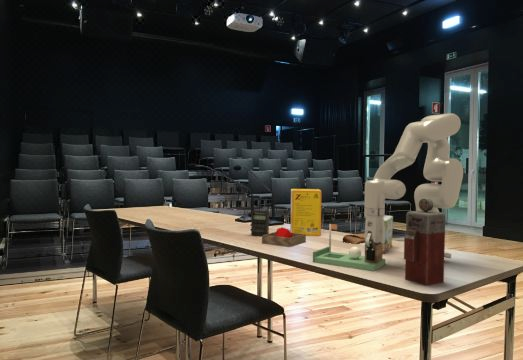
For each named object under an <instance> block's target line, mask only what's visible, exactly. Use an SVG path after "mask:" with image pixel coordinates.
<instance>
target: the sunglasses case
mask: <svg viewBox="0 0 523 360" xmlns="http://www.w3.org/2000/svg"><path fill="white" fill-rule="evenodd" d="M344 242H345V243H346V244H349V243H351V244H350V245H359V244H360V243H361V244H365V242H366V241H365V232H364V233H356V234H347V235H344V236H343V237H342V243H344ZM371 242H373V241H371ZM345 243H344V244H345Z"/></svg>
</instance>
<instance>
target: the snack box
mask: <svg viewBox="0 0 523 360" xmlns="http://www.w3.org/2000/svg"><path fill="white" fill-rule="evenodd" d="M393 223H394V216H393V215H385V216H384V236H385V237H384V240H383V241H381V243H383V255H385V254H386V253H387V251H389V250H390V249H391V248H392V247H393Z"/></svg>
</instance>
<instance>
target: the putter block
mask: <svg viewBox="0 0 523 360" xmlns="http://www.w3.org/2000/svg"><path fill="white" fill-rule="evenodd" d="M370 242H371V241H370ZM371 245H373V244H371ZM374 250H375V261H369V260H366V243H364V256H365V262H369V263H377V264H378V263H379V262H381V261H382V258H383V255H384V254H383V243H375V247H374Z"/></svg>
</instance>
